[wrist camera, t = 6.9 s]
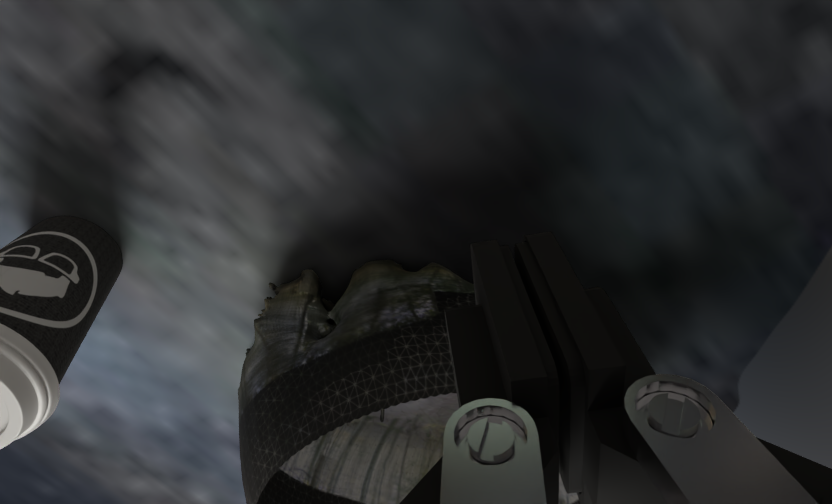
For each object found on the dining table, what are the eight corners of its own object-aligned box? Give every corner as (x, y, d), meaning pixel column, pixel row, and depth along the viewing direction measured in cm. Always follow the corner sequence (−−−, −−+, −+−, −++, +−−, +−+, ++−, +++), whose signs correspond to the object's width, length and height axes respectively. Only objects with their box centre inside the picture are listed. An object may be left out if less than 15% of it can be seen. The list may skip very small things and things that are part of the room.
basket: (475, 121, 38) (533, 237, 24) (669, 398, 53) (772, 566, 39) (192, 325, 45) (110, 503, 31) (435, 515, 61) (451, 690, 47)
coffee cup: (-24, 224, 39) (-221, 371, 26) (87, 176, 38) (-63, 306, 25) (67, 320, 44) (-61, 484, 31) (169, 280, 42) (79, 434, 30)
